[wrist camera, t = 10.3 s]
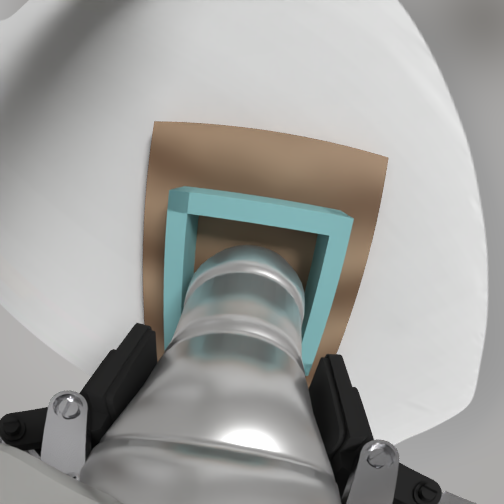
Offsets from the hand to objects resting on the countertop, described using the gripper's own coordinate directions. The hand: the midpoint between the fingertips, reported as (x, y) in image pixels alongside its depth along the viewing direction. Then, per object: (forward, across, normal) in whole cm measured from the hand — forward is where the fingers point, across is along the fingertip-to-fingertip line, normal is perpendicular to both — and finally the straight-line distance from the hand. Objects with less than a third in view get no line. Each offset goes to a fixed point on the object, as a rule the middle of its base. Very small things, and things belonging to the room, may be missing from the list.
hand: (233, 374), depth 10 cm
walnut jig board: (+11, 0, 0) cm, 11 cm away
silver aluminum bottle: (+9, 0, 0) cm, 9 cm away
